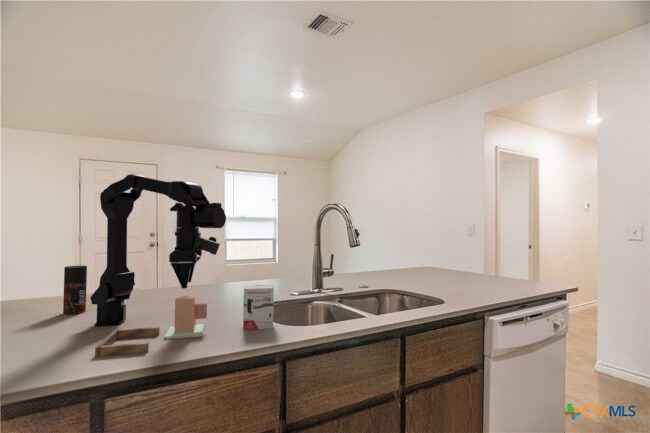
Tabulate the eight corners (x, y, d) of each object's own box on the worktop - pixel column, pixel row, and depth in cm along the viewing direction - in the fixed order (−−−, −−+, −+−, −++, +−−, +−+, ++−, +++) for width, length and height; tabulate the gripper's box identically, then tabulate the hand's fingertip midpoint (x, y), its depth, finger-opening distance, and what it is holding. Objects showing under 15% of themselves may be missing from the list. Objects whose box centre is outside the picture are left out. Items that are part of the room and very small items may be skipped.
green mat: (164, 339, 85) (164, 336, 85) (170, 328, 94) (170, 326, 94) (201, 336, 87) (201, 334, 88) (204, 326, 96) (204, 324, 96)
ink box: (242, 330, 93) (243, 287, 93) (243, 325, 98) (243, 284, 98) (273, 328, 95) (274, 287, 95) (272, 323, 100) (273, 283, 100)
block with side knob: (174, 333, 88) (175, 299, 88) (177, 328, 92) (177, 295, 92) (205, 331, 90) (206, 297, 90) (207, 326, 94) (207, 294, 95)
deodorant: (71, 310, 112) (72, 265, 112) (89, 310, 112) (90, 265, 112) (58, 315, 106) (59, 267, 106) (78, 314, 106) (79, 267, 107)
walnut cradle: (94, 356, 74) (95, 347, 74) (114, 337, 86) (115, 329, 86) (147, 352, 76) (147, 343, 76) (159, 334, 89) (159, 326, 89)
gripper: (217, 228, 84) (216, 290, 84) (219, 227, 102) (218, 278, 102) (169, 228, 81) (168, 292, 81) (180, 227, 99) (179, 279, 99)
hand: (186, 285), depth 91 cm, fingers open, 9 cm apart
